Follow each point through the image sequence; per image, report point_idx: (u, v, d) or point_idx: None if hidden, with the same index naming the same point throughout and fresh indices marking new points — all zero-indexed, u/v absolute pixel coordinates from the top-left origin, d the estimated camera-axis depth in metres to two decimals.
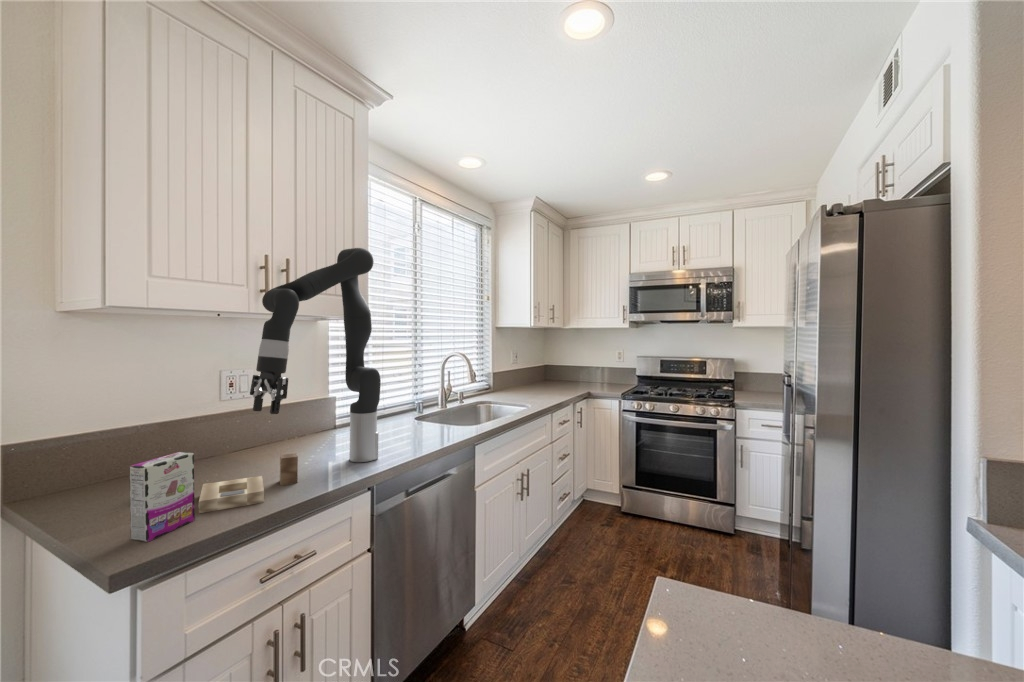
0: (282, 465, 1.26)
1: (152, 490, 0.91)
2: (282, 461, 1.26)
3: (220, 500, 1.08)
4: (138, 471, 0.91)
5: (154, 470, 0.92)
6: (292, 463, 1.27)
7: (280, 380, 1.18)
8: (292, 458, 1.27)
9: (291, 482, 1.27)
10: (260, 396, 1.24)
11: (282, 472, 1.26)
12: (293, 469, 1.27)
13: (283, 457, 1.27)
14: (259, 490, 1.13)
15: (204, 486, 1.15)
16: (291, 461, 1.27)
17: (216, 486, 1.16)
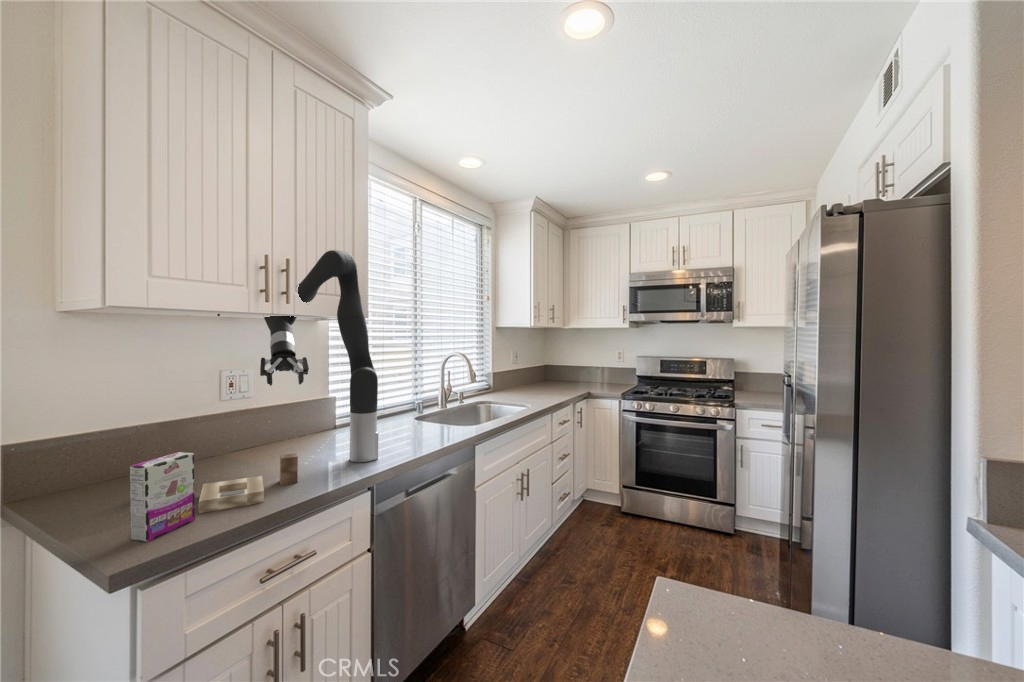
0: (282, 465, 1.26)
1: (152, 490, 0.91)
2: (282, 461, 1.26)
3: (220, 500, 1.08)
4: (138, 471, 0.91)
5: (154, 470, 0.92)
6: (292, 463, 1.27)
7: None
8: (291, 458, 1.27)
9: (291, 482, 1.27)
10: (298, 372, 1.43)
11: (282, 472, 1.26)
12: (293, 469, 1.27)
13: (283, 457, 1.27)
14: (259, 490, 1.13)
15: (204, 486, 1.15)
16: (291, 461, 1.27)
17: (216, 486, 1.16)
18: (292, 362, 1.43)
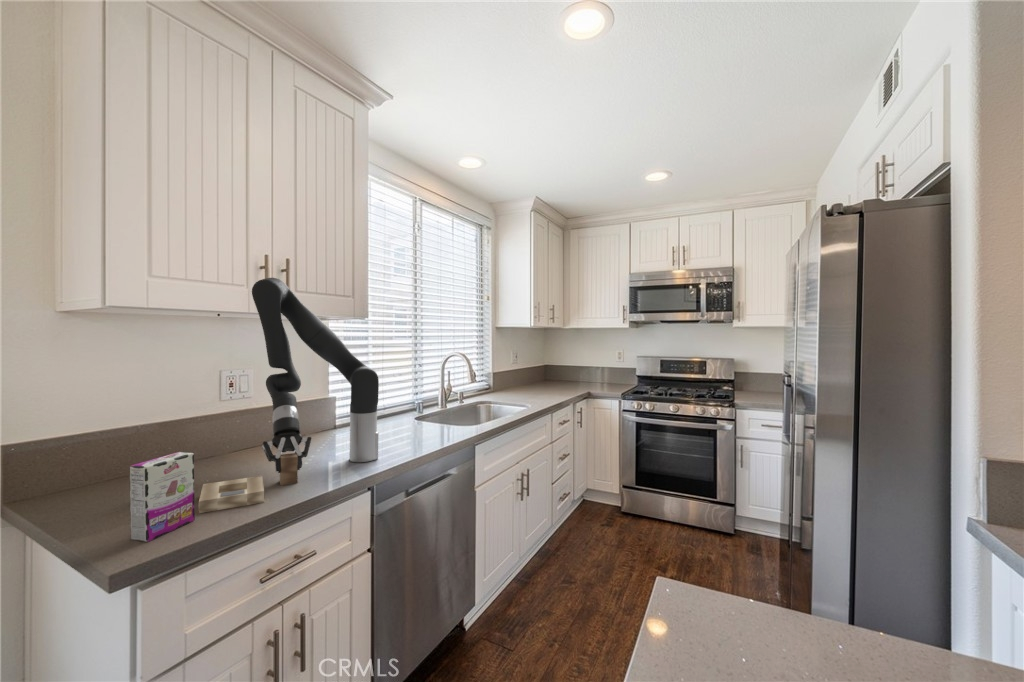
0: (282, 465, 1.26)
1: (152, 490, 0.91)
2: (282, 461, 1.26)
3: (220, 500, 1.08)
4: (138, 471, 0.91)
5: (154, 470, 0.92)
6: (292, 463, 1.27)
7: None
8: (291, 458, 1.27)
9: (291, 482, 1.27)
10: None
11: (282, 472, 1.26)
12: (293, 469, 1.27)
13: (283, 457, 1.26)
14: (259, 490, 1.13)
15: (204, 486, 1.15)
16: (291, 460, 1.27)
17: (216, 486, 1.16)
18: (294, 442, 1.31)
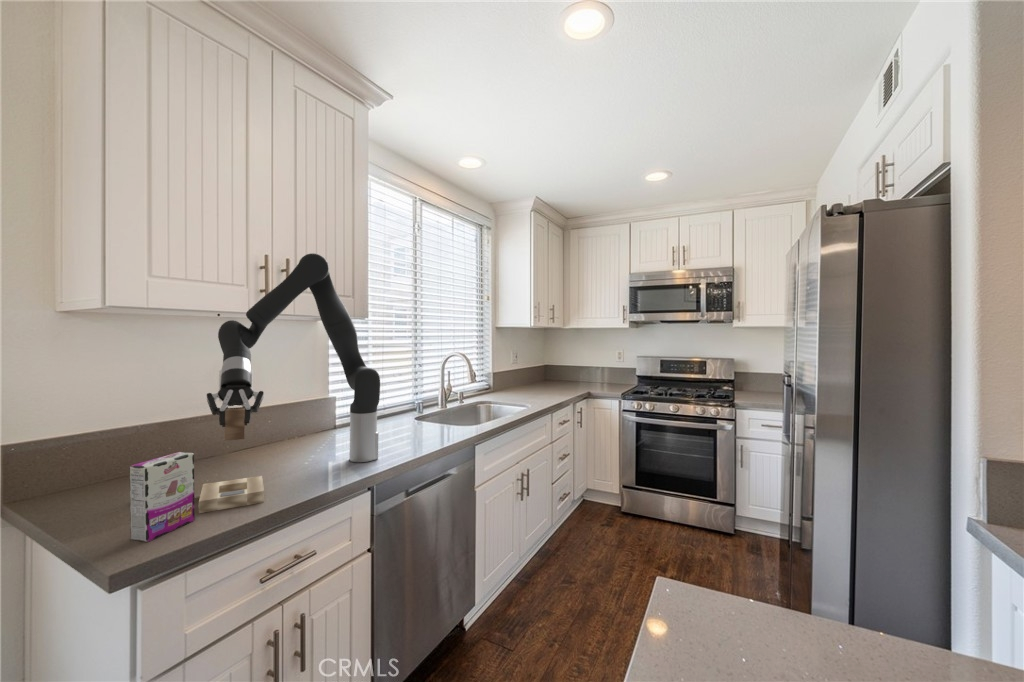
0: (226, 418, 1.13)
1: (152, 490, 0.91)
2: (226, 414, 1.13)
3: (220, 500, 1.08)
4: (138, 471, 0.91)
5: (154, 470, 0.92)
6: (238, 416, 1.14)
7: None
8: (238, 411, 1.14)
9: (237, 438, 1.14)
10: (245, 410, 1.17)
11: (226, 426, 1.13)
12: (240, 423, 1.14)
13: (228, 410, 1.14)
14: (259, 490, 1.13)
15: (204, 486, 1.15)
16: (237, 414, 1.14)
17: (216, 486, 1.16)
18: (243, 396, 1.18)
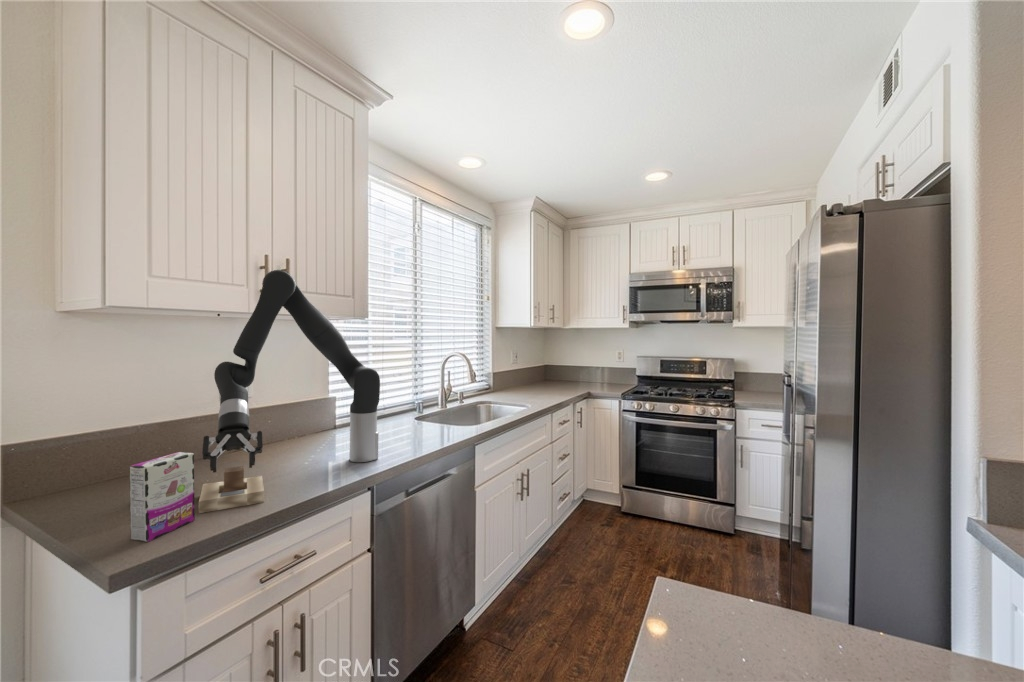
0: (225, 480, 1.12)
1: (152, 490, 0.91)
2: (225, 476, 1.12)
3: (220, 500, 1.08)
4: (138, 471, 0.91)
5: (154, 470, 0.92)
6: (237, 477, 1.14)
7: None
8: (236, 472, 1.14)
9: None
10: (249, 452, 1.18)
11: (225, 488, 1.12)
12: (239, 484, 1.14)
13: (227, 471, 1.13)
14: (259, 490, 1.13)
15: (204, 486, 1.15)
16: (236, 475, 1.14)
17: (216, 486, 1.16)
18: (242, 439, 1.18)
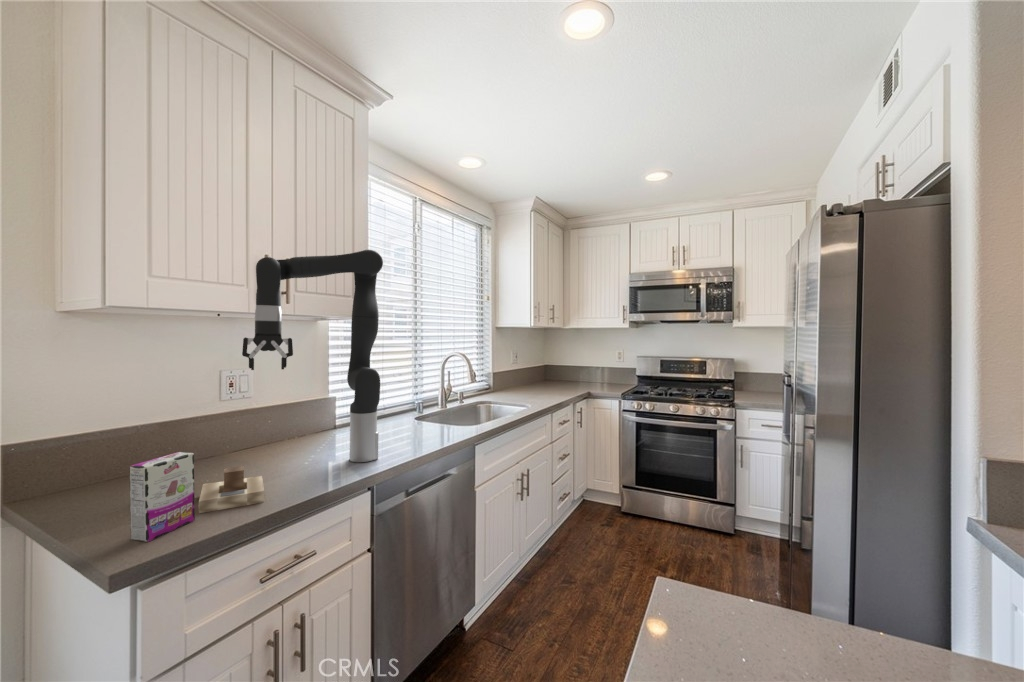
0: (225, 480, 1.12)
1: (152, 490, 0.91)
2: (225, 476, 1.12)
3: (220, 500, 1.08)
4: (138, 471, 0.91)
5: (154, 470, 0.92)
6: (237, 477, 1.14)
7: None
8: (237, 472, 1.14)
9: None
10: (282, 356, 1.40)
11: (225, 488, 1.12)
12: (239, 484, 1.14)
13: (227, 471, 1.13)
14: (259, 490, 1.13)
15: (204, 486, 1.15)
16: (236, 475, 1.14)
17: (216, 486, 1.16)
18: (276, 346, 1.38)
